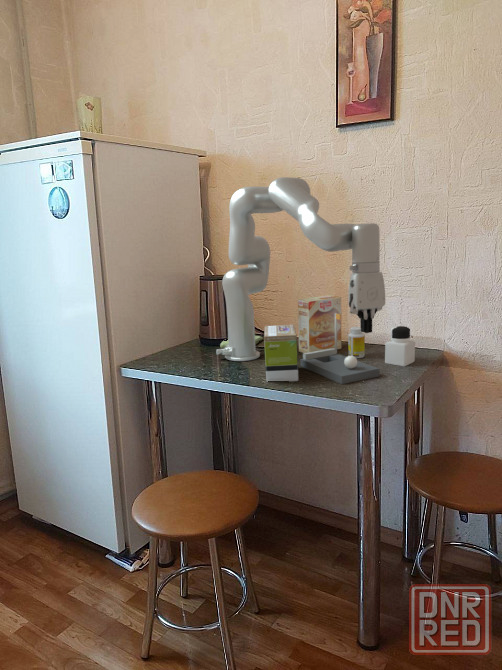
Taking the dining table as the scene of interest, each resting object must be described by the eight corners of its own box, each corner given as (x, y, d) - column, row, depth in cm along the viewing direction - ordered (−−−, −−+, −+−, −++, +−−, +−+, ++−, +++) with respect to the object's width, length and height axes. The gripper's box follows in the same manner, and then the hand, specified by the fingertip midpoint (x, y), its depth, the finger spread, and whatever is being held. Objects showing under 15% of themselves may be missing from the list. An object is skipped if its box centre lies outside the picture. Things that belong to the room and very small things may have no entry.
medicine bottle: (414, 361, 173) (415, 326, 171) (404, 366, 168) (405, 330, 166) (395, 358, 178) (395, 324, 176) (384, 363, 173) (385, 327, 171)
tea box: (265, 368, 173) (264, 324, 170) (296, 367, 173) (295, 323, 170) (265, 382, 159) (263, 335, 155) (299, 381, 158) (297, 333, 155)
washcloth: (264, 340, 214) (264, 333, 213) (249, 351, 198) (249, 343, 197) (234, 339, 219) (234, 332, 218) (217, 350, 202) (217, 342, 202)
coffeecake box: (309, 355, 187) (308, 301, 183) (298, 351, 193) (296, 299, 189) (342, 348, 194) (342, 296, 190) (330, 345, 200) (329, 294, 196)
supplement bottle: (367, 356, 182) (368, 327, 180) (357, 359, 179) (357, 330, 177) (355, 353, 186) (355, 325, 184) (344, 356, 183) (344, 328, 181)
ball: (349, 371, 158) (349, 358, 157) (341, 367, 162) (341, 355, 161) (360, 368, 160) (360, 356, 159) (352, 365, 163) (352, 353, 163)
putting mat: (341, 384, 154) (341, 329, 150) (300, 366, 174) (299, 317, 171) (379, 376, 160) (380, 323, 156) (335, 359, 180) (335, 312, 177)
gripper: (352, 271, 141) (353, 337, 145) (395, 266, 148) (395, 330, 151) (336, 269, 148) (337, 333, 152) (378, 265, 154) (378, 326, 158)
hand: (366, 331), depth 152 cm, fingers closed
